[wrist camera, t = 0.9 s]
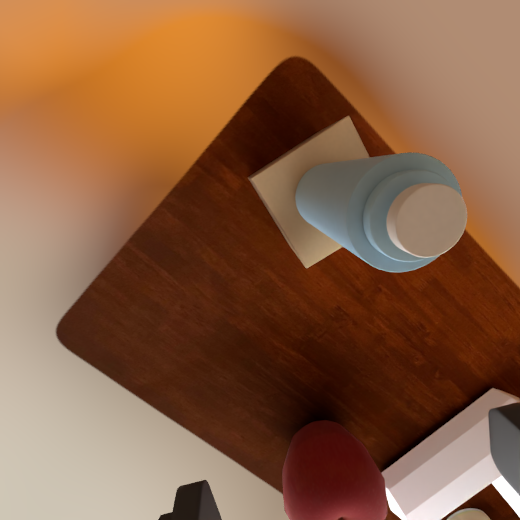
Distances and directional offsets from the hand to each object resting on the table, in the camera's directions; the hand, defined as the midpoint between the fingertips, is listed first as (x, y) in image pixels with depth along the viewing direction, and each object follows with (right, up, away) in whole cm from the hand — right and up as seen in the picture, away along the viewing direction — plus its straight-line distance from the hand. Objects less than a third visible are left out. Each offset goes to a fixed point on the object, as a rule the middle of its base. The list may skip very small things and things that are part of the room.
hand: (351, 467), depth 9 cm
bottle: (+3, +11, +18) cm, 21 cm away
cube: (+2, +14, +27) cm, 31 cm away
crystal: (+24, -21, +38) cm, 50 cm away
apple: (+5, -19, +36) cm, 41 cm away
